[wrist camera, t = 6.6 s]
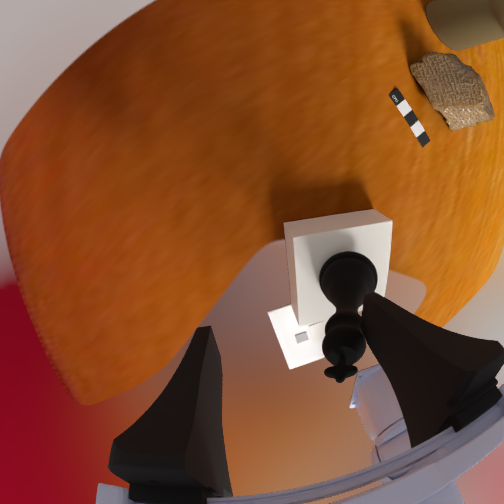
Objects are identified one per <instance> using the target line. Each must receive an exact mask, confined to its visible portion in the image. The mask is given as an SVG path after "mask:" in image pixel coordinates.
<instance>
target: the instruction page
mask: <svg viewBox="0 0 504 504" xmlns="http://www.w3.org/2000/svg"><path fill="white" fill-rule="evenodd" d="M268 315H269V318H270V320H271V323H272V325H273V328H274V330H275V333H276V336H277V338H278V341H279V343H280V346H281V348H282V351H283V353H284V356H285V359H286V361H287V364H288V366H289V369H293V368H296V367H299V366H301V365H305V364H308V363H310V362H313V361H316V360H319V359H322V358H324V357H325V356H324V354H323V351H322V342H323V339H324V337H325V325H326V323H327V321H328V320H325V321H321V322H316V323H312V324H307V325H303V326H299V325H298V322H297V320H296V317H295V314H294V312H293V309H292V306H291V304H288V305H285V306H282V307H279V308H276V309H273V310H270V311H268Z"/></svg>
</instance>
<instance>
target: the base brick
mask: <svg viewBox="0 0 504 504" xmlns="http://www.w3.org/2000/svg"><path fill="white" fill-rule="evenodd" d="M392 222H393V221H392V220H391V219H389V218H387V217H386V216H384V215H383V214H381V213H380V212H378V211H376V210H375V209H370V210H363V211H356V212H349V213H343V214H336V215H330V216H323V217H317V218H310V219H304V220H298V221H292V222H286V223H284V232H285V242H286V253H287V263H288V273H289V274H288V275H289V286H290V298H291V306H292V309H293V312H294V314H295V317H296V320H297V322H298V325H299V326H303V325H307V324H312V323H316V322H321V321H325V320H328V319H329V318H330V317H331V316H332V315H333V314H335V313H336V307H335V306H334V305H333V304H332V303H331V302H329V300H328V299H327V298H326V297H325V295H324V294H323V292H322V290H321V288H320V284H319V274H320V271H321V268H322V266H323V264H324V263H325V262H326V261H327V260H328V259H329V258H330V257H332V256H333V255H335V254H337V253H340V252H345V251H353V252H358V253H360V254H363V255H365V256H366V257H367V258H369V259H370V260H371V262H372V263H373V264H374V266H375V268H376V271H377V275H378V282H377V287H376V289H375V291H374V292H376V293H378V294H380V295H381V296H383V297H385V291H386V283H387V276H388V268H389V259H390V249H391V237H392ZM362 309H363V305H361V306H360V307H359V308H358V312H360V311H362Z"/></svg>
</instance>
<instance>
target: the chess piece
mask: <svg viewBox="0 0 504 504" xmlns="http://www.w3.org/2000/svg"><path fill="white" fill-rule="evenodd" d="M377 282H378V275H377V271H376V268H375V266H374V264H373V263H372V262H371V260H370V259H369V258H367V257H366V256H365V255H363V254H360V253H358V252H353V251H345V252H340V253H337V254H335V255H333V256H332V257H330V258H329V259H328V260H327V261H326V262H325V263H324V264H323V266H322V268H321V271H320V274H319V284H320V288H321V290H322V292H323V294H324V295H325V297H326V298H327V299H328V300H329V302H331V303H332V304H333V305H334V306H335V307H336V313H335V314H333V315H332V316H331V317H330V318H329V319H328V321H327V323H326V325H325V337H324V339H323V342H322V351H323V354H324V356H325V357H326V359H327V360H328V361H329V362H331V364H333V365H334V366H333V367H329V368H327V369H325V371H324V374H325V375H326V376H327V377H330V378H334V379H336V381H337V382H338V383H342V382H343V381H344V380H345V378H348V377H350V376H353V375H355V374H356V373H357V371H358V369H357V367H355V366H353V364H354V363H356V362H357V361H358V360H359V359H360V358H361V357H362V356H363V354H364V352H365V349H366V340H365V338H364V335H363V332H362V330H361V328H360V324H361V316H360V315H359V314H358V308H359V307H360V306H361V305H363V300H364V295H365V294H369V293H373V292H374V291H375V289H376V287H377Z"/></svg>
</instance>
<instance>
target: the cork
mask: <svg viewBox="0 0 504 504" xmlns="http://www.w3.org/2000/svg"><path fill="white" fill-rule="evenodd" d="M426 16H427V19H428V22H429V24H430V26H431V28H432V30H433V31H434V33H435V34H436V35H437V37H438V38H439V39H440V40H441V41H442V42H443V43H444V44H445V45H446V46H447V47H449V48H450V49H452V50H455V51H460V50H463V49H466V48H470V47H473V46H476V45H479V44H483V43H487V42H490V41H494V40H498V39H502V38H504V0H434V1H430V2H429V3H427V6H426Z"/></svg>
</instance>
